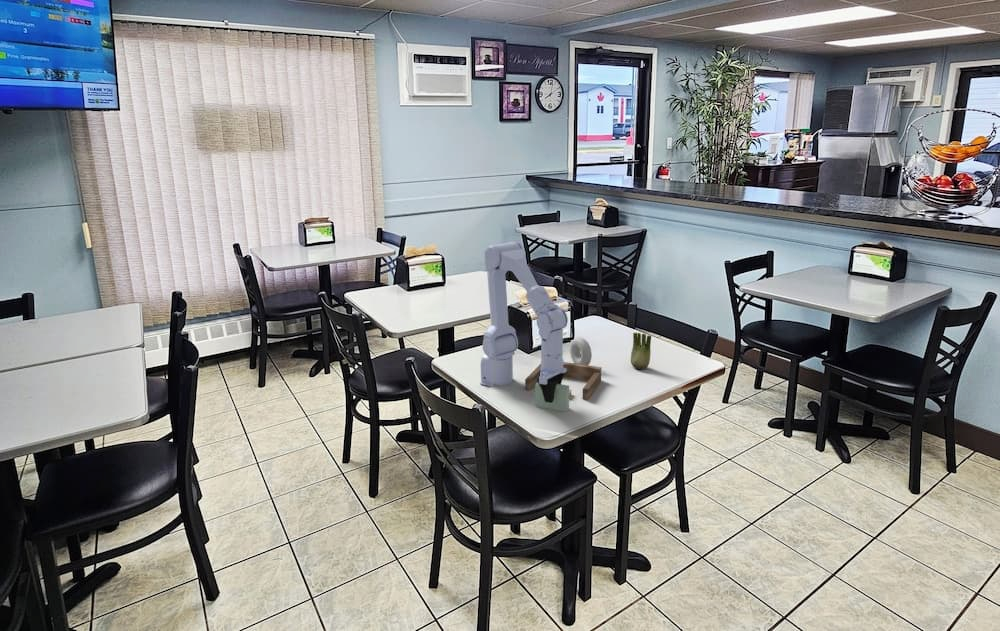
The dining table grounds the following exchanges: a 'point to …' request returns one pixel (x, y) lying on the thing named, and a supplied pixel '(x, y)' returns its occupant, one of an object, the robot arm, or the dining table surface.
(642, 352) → the fennel bulb
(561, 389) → the board
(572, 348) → the donut
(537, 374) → the frame
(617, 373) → the dining table surface
